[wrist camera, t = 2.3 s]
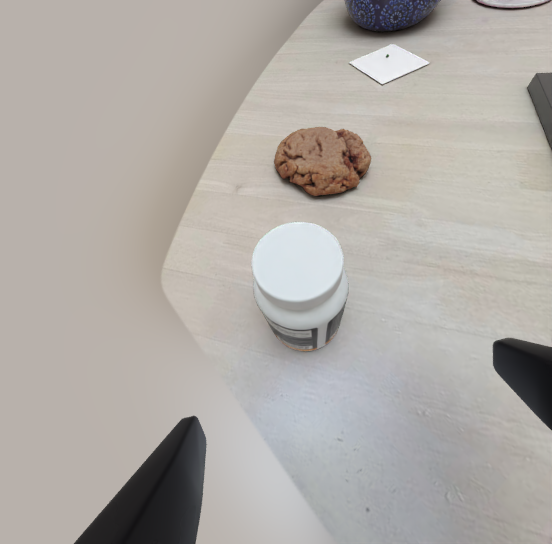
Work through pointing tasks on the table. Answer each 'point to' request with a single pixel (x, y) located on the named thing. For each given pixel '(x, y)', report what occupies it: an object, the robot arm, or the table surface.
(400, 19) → the planter
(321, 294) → the pill bottle
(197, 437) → the robot arm
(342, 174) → the cookie
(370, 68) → the coaster
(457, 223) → the table surface
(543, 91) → the hob
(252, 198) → the table surface
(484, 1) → the teacup
